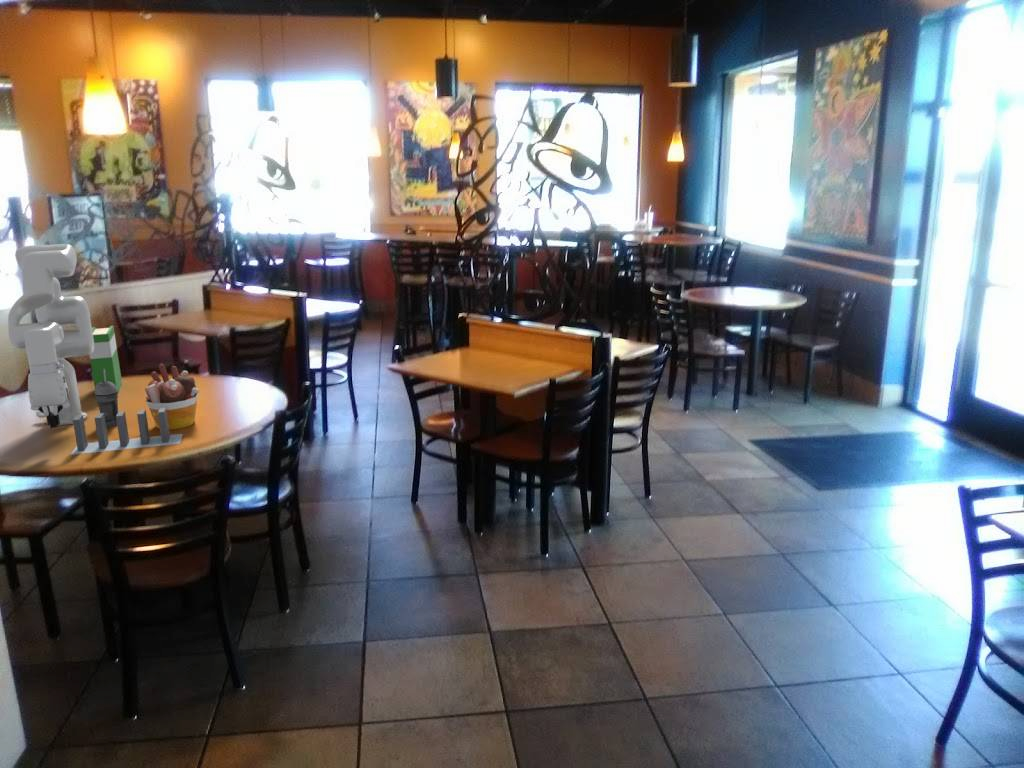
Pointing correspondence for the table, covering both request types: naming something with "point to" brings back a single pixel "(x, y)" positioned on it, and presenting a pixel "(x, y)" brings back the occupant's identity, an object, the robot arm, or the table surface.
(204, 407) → the table surface
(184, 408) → the bucket of meat
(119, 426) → the domino
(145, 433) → the domino
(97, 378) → the green tall box
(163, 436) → the domino
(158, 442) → the mat
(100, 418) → the domino
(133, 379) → the table surface
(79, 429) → the domino
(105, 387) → the beverage cup
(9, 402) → the table surface
